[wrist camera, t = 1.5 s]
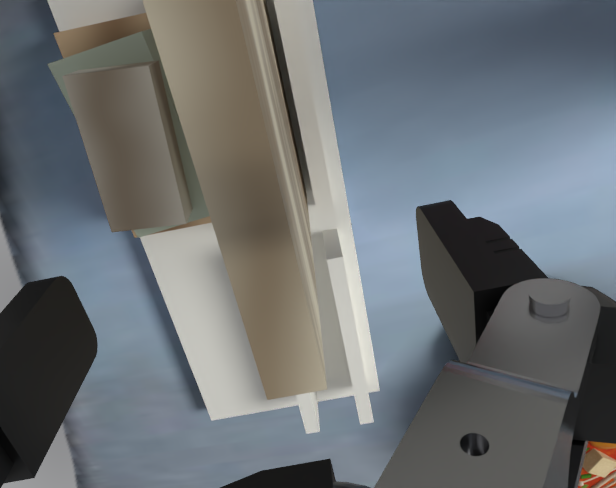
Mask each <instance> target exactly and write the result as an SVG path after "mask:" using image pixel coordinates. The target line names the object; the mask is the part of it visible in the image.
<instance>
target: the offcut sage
mask: <svg viewBox="0 0 616 488" xmlns="http://www.w3.org/2000/svg"><path fill="white" fill-rule="evenodd" d="M158 60H159V65H160V69H161V73H162V78H163V82H164V86H165V91H166V95H167V100H168V104H169V108H170V113H171V117H172V121H173V126H174V130H175V134H176V139H177V143H178V147H179V152H180V156H181V161H182V165H183V169H184V174H185V178H186V182H187V187H188V191H189V195H190V200H191V204H192V208H193V210H192V212H191V214H190V217H189V219H188V221H187V223H189V222H192V221H195V220H198V219H202V218H205V217H208V216H210V215H209V212H208V209H207V206H206V202H205V199H204V196H203V193H202V190H201V186H200V183H199V180H198V177H197V174H196V170H195V167H194V164H193V161H192V158H191V154H190V151H189V148H188V145H187V142H186V138H185V135H184V132H183V129H182V126H181V122H180V119H179V116H178V113H177V110H176V106H175V103H174V100H173V97H172V94H171V90H170V87H169V84H168V81H167V78H166V75H165V71H164V68H163V65H162V62H161V59H160V55H159V52H158V49H157V46H156V43H155V39H154V36H153V33H152V30H151V29H148V30H145V31H141V32H138V33H135V34H132V35H130V36H127V37H124V38H121V39H118V40H115V41H112V42H109V43H107V44H104V45H101V46H98V47H95V48H92V49H89V50H87V51H84V52H81V53H78V54H75V55H72V56H69V57H66V58H64V59H61V60H58V61H55V62H52V63H49V64H48V66H49V68H50V70H51V72H52V74H53V76H54V78H55V80H56V82H57V84H58V86H59V88H60V89H61V91H62V93H63V95H64V97H65V99H66V101H67V103H68V105H69V107H70V109H71V111H72V112H73V114H74V111H73V108H72V105H71V102H70V99H69V96H68V92H67V89H66V86H65V83H64V80H63V77H62V76H64V75H66V74H69V73H72V72H74V71H77V70H82V69H91V68H99V67H108V66H116V65H125V64H133V63H142V62H150V61H158ZM74 116H75V115H74ZM180 225H182V224H180ZM175 226H179V225H172V226H163V227H154V228H145V229H137V230H134V232H135V233H136V235H137V237H138V238H139V237H143V236H146V235H149V234H152V233H156V232H159V231H162V230H166V229H169V228H172V227H175Z"/></svg>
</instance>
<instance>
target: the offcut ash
mask: <svg viewBox="0 0 616 488" xmlns="http://www.w3.org/2000/svg"><path fill="white" fill-rule="evenodd" d="M62 77H63V80H64V83H65V86H66V89H67V92H68V96H69V99H70V102H71V105H72V108H73V111H74V115H75V118H76V121H77V124H78V127H79V130H80V133H81V137H82V140H83V143H84V146H85V149H86V152H87V156H88V159H89V162H90V165H91V168H92V171H93V175H94V178H95V181H96V184H97V187H98V190H99V193H100V197H101V200H102V203H103V206H104V209H105V212H106V216H107V219H108V222H109V225H110V228H111V231H112V232H119V231H128V230H137V229H145V228H154V227H163V226H172V225H180V224H187V221H188V219H189V217H190V214H191V212H192V210H193V208H192V204H191V200H190V195H189V191H188V187H187V182H186V178H185V174H184V169H183V165H182V161H181V156H180V152H179V147H178V143H177V139H176V134H175V130H174V126H173V121H172V117H171V113H170V108H169V104H168V100H167V95H166V91H165V86H164V82H163V78H162V73H161V69H160V65H159V60H158V61H150V62H142V63H133V64H125V65H116V66H108V67H99V68H91V69H82V70H77V71H74V72H72V73H69V74H66V75H64V76H62Z"/></svg>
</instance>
